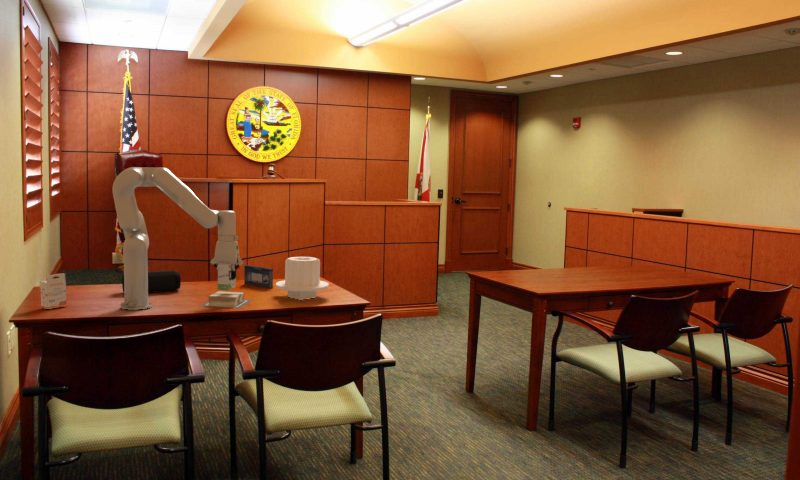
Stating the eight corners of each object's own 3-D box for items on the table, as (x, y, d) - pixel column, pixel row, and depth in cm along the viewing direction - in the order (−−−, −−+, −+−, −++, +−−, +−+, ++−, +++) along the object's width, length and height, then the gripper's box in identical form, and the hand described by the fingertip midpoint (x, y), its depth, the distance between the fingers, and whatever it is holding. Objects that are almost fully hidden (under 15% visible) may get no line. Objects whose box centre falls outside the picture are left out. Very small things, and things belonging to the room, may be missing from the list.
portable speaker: (177, 288, 336) (177, 268, 335) (181, 292, 327) (181, 271, 326) (122, 291, 323) (121, 271, 322) (124, 295, 315) (124, 274, 314)
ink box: (225, 286, 305) (225, 260, 304) (236, 287, 304) (236, 261, 303) (217, 289, 297) (216, 263, 295) (228, 290, 296) (227, 263, 294)
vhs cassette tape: (243, 284, 353) (244, 265, 352) (248, 283, 355) (248, 264, 354) (268, 289, 342) (269, 269, 341) (273, 288, 345) (273, 268, 344)
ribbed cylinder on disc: (265, 296, 322) (265, 257, 320) (305, 290, 341) (306, 253, 338) (297, 305, 306) (298, 264, 303) (339, 298, 324) (340, 259, 322)
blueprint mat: (239, 310, 291) (239, 308, 291) (199, 308, 293) (199, 305, 293) (252, 302, 309) (252, 299, 309) (214, 300, 311) (214, 297, 311)
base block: (235, 306, 295) (235, 297, 294) (208, 305, 296) (208, 296, 295) (244, 301, 306) (244, 292, 306) (218, 299, 308) (218, 291, 307)
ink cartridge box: (60, 305, 290) (59, 271, 289) (66, 307, 288) (66, 272, 286) (40, 308, 283) (39, 274, 281) (47, 310, 281) (46, 275, 279)
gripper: (248, 238, 301) (248, 278, 303) (211, 236, 302) (211, 276, 304) (242, 240, 293) (242, 281, 295) (204, 238, 295) (204, 279, 297)
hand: (226, 278), depth 300 cm, fingers closed on ink box, 5 cm apart
